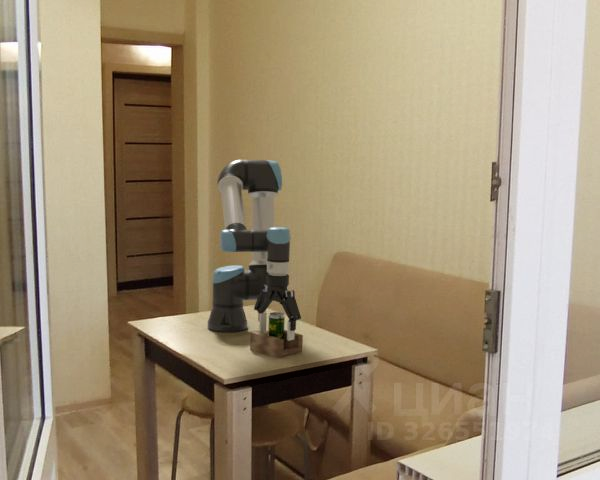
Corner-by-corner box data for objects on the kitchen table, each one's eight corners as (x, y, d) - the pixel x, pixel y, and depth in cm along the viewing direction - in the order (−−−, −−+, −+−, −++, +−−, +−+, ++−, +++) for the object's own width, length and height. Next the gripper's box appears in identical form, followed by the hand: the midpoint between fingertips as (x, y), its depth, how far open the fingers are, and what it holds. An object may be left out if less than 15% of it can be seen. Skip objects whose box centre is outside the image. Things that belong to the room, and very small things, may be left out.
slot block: (250, 349, 233) (250, 332, 232) (273, 343, 241) (273, 327, 240) (278, 358, 223) (279, 340, 223) (302, 352, 231) (302, 334, 231)
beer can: (275, 345, 236) (276, 311, 234) (287, 348, 232) (288, 313, 231) (264, 348, 232) (265, 313, 230) (276, 351, 228) (277, 316, 227)
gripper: (244, 269, 235) (243, 330, 238) (296, 280, 218) (294, 345, 220) (260, 267, 240) (259, 326, 243) (312, 277, 223) (310, 341, 226)
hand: (276, 335), depth 232 cm, fingers open, 13 cm apart
